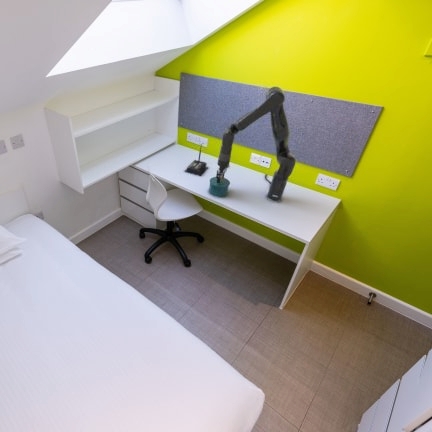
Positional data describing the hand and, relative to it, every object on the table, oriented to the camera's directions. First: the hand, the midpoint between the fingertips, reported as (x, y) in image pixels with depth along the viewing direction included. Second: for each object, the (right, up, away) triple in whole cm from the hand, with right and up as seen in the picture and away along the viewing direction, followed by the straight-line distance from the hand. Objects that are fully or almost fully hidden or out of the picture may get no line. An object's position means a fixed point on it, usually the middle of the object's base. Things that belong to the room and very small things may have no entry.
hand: (220, 180), depth 202 cm
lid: (0, -1, +1) cm, 1 cm away
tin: (0, -8, +6) cm, 10 cm away
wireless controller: (-9, +13, +34) cm, 38 cm away
